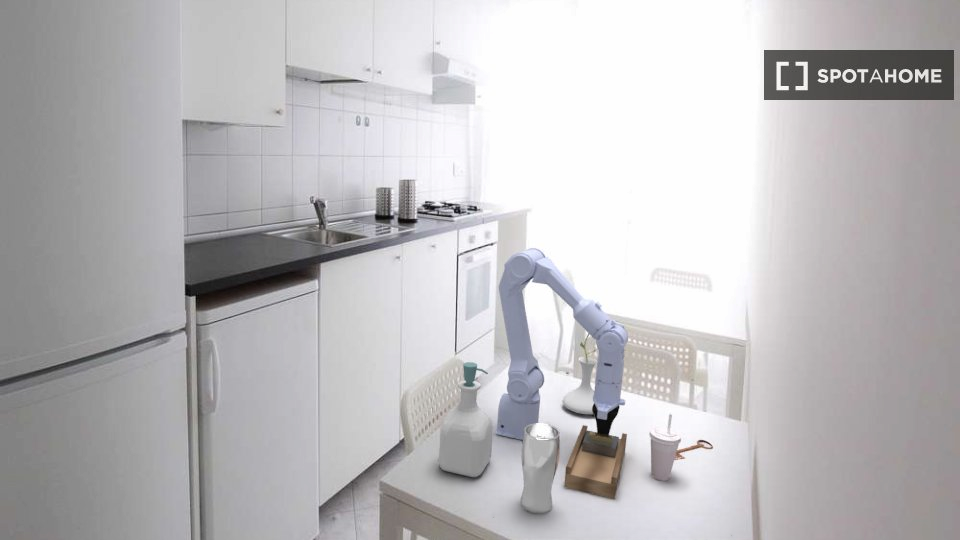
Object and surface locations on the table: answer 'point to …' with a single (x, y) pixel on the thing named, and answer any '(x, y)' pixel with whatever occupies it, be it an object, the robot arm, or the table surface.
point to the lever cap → (600, 444)
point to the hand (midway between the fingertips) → (602, 436)
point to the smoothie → (663, 450)
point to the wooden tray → (594, 469)
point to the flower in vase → (582, 387)
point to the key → (692, 449)
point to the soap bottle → (466, 431)
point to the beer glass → (539, 466)
